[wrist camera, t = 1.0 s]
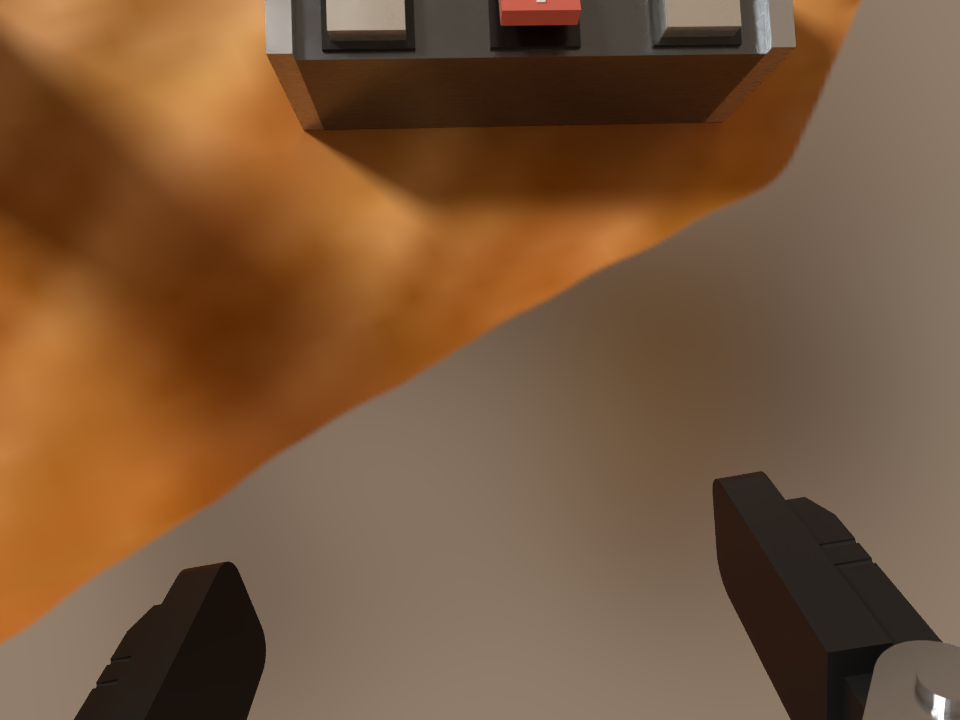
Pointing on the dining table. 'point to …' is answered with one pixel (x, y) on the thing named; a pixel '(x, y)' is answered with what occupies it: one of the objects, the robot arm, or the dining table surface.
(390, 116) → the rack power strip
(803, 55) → the dining table surface
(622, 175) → the dining table surface
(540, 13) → the middle rocker
